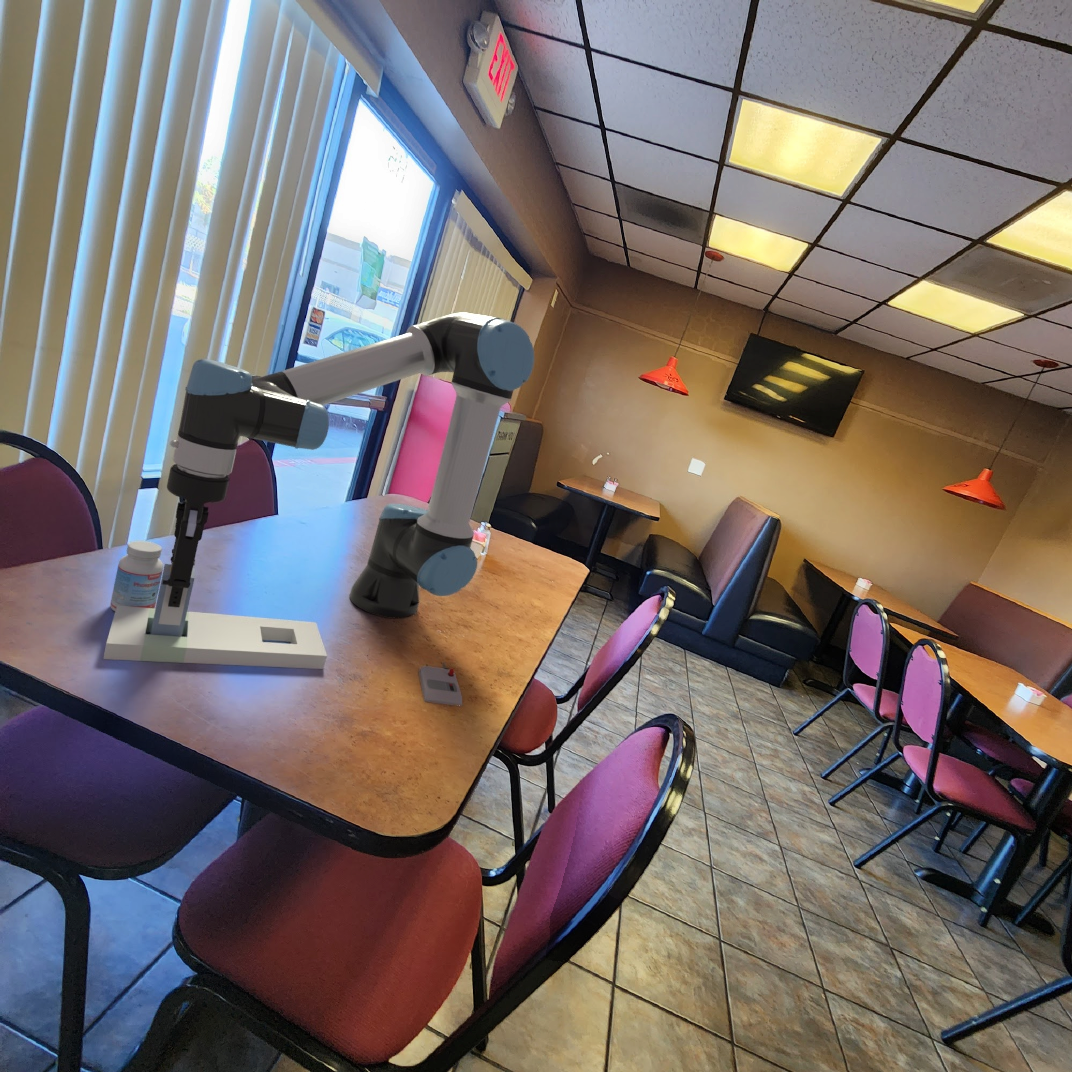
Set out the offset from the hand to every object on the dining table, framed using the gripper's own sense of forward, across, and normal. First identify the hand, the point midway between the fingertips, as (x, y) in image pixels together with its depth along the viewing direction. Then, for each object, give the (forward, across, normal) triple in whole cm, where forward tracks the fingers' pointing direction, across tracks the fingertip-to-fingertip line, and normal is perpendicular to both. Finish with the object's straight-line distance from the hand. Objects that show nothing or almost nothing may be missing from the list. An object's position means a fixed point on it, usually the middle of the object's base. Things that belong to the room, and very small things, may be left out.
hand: (170, 613), depth 89 cm
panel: (+5, 0, +8) cm, 9 cm away
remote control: (+6, +10, +43) cm, 44 cm away
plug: (+5, 0, 0) cm, 5 cm away
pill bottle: (+5, -10, -5) cm, 12 cm away
